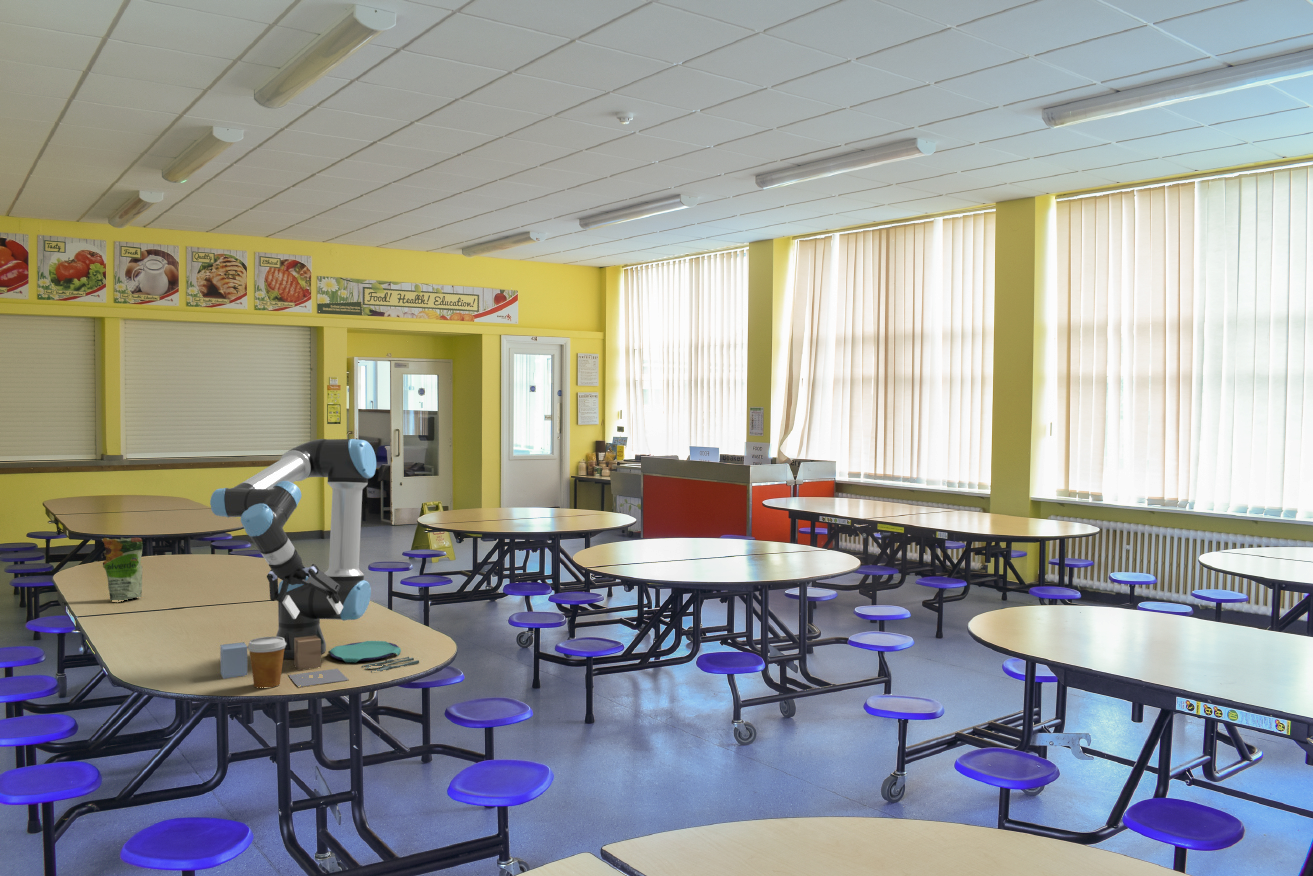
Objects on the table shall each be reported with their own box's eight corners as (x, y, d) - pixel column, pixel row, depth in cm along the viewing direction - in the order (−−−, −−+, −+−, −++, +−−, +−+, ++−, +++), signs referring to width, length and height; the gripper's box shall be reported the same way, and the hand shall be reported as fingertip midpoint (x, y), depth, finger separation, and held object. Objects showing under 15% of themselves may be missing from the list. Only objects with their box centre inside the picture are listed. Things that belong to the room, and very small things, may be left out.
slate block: (220, 673, 253) (220, 644, 253) (244, 670, 256) (243, 642, 256) (223, 678, 248) (223, 649, 248) (247, 675, 251) (247, 646, 251)
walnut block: (294, 665, 261) (294, 637, 261) (316, 662, 264) (316, 635, 264) (298, 670, 256) (298, 642, 256) (320, 667, 259) (320, 639, 259)
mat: (288, 676, 250) (288, 675, 250) (337, 669, 257) (337, 668, 257) (297, 687, 239) (297, 687, 239) (348, 680, 246) (348, 679, 246)
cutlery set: (382, 644, 287) (382, 636, 287) (426, 665, 264) (426, 657, 264) (319, 655, 274) (319, 647, 274) (360, 678, 252) (360, 670, 251)
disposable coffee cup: (291, 680, 246) (291, 636, 246) (278, 690, 237) (278, 644, 237) (256, 680, 246) (256, 636, 246) (241, 691, 237) (241, 644, 236)
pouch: (147, 599, 355) (146, 535, 354) (115, 605, 345) (114, 539, 344) (131, 596, 361) (131, 533, 360) (99, 601, 351) (99, 537, 350)
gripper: (233, 571, 237) (272, 627, 248) (318, 561, 231) (353, 619, 243) (247, 551, 243) (284, 607, 254) (329, 541, 237) (364, 598, 249)
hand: (318, 613), depth 249 cm, fingers open, 13 cm apart
